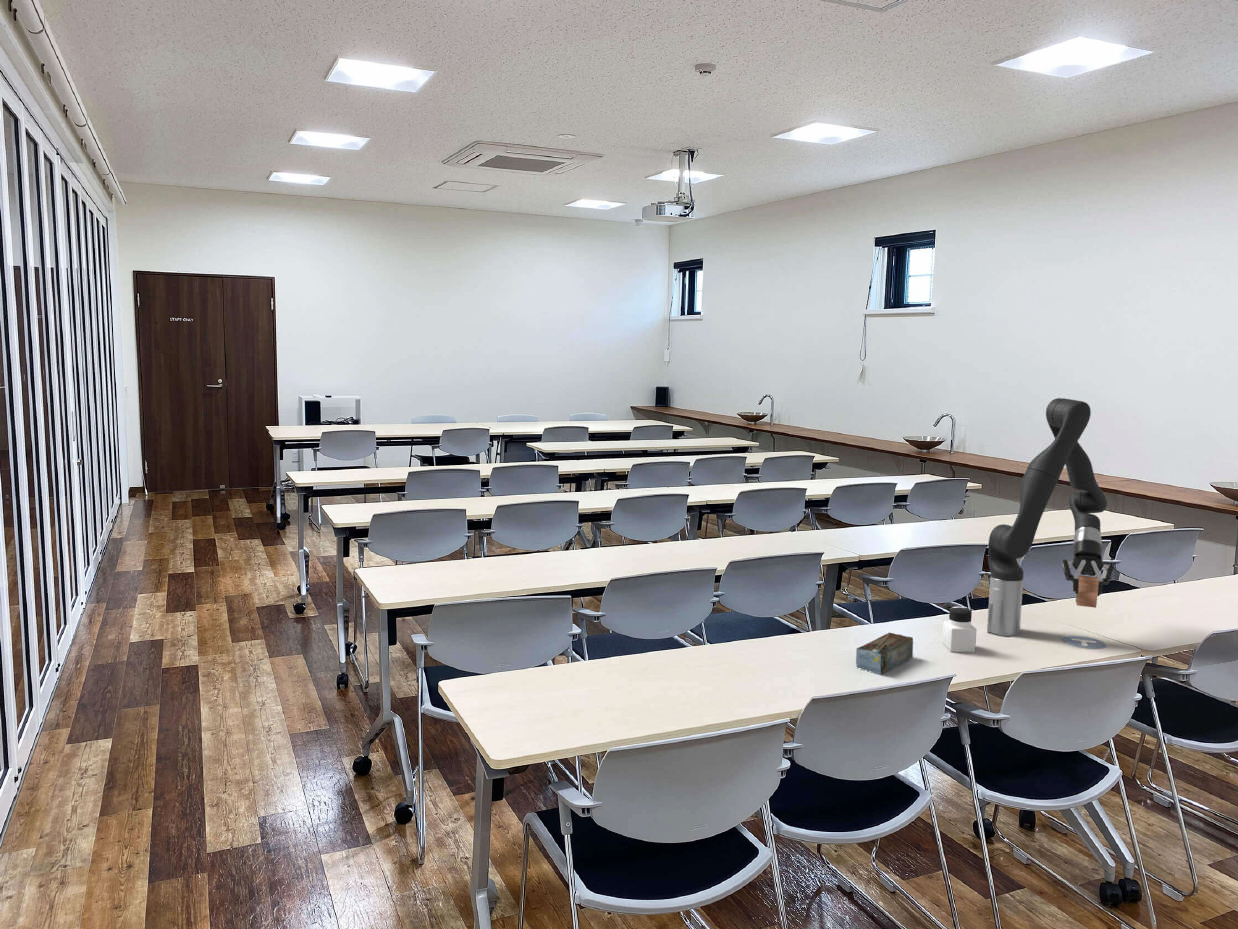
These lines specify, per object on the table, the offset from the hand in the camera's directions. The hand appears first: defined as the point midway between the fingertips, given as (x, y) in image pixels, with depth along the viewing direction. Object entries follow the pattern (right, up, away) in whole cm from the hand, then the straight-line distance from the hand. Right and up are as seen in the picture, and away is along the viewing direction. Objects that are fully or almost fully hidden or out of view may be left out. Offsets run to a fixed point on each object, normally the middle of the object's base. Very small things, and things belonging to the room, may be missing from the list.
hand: (1087, 593), depth 256 cm
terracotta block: (+1, -4, +2) cm, 4 cm away
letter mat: (+1, -15, +4) cm, 16 cm away
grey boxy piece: (-64, -18, -14) cm, 68 cm away
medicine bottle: (-39, -16, -2) cm, 42 cm away
